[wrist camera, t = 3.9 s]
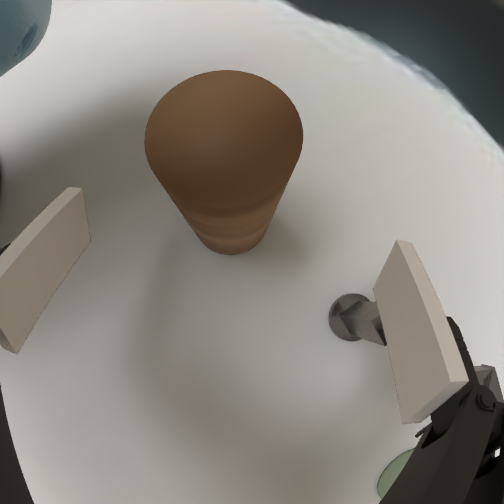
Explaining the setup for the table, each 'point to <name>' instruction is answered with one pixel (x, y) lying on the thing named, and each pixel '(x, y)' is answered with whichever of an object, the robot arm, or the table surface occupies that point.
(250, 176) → the dowel
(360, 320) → the grey bent handle
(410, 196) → the table surface
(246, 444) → the table surface
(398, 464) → the pad
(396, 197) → the table surface
